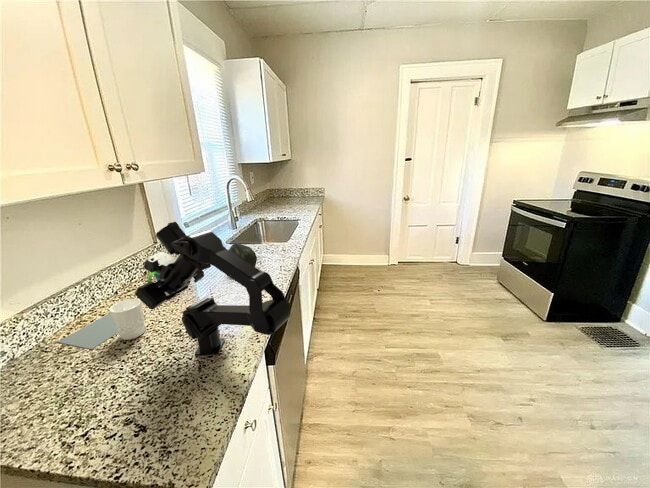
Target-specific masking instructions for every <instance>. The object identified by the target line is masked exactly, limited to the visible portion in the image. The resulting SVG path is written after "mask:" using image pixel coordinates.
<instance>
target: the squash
mask: <svg viewBox="0 0 650 488" xmlns="http://www.w3.org/2000/svg"><path fill="white" fill-rule="evenodd" d="M228 250H229V251H230V252H232V253H234V254H235V255H237V256H238V257H240V258H241V259H243V260H244V261H246V262H247V263H249V264H251V265H252V266H254V267H255V268H256V264H257V261H258V257H257V253H256V252H255V251H254V250H253V249H252V247H250V246H249V245H245V244H242V243H233V244H232V245H231V246H230V248H229V249H228Z"/></svg>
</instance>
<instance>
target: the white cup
mask: <svg viewBox="0 0 650 488" xmlns="http://www.w3.org/2000/svg"><path fill="white" fill-rule="evenodd" d="M142 306H143V305H142V301H141V300H140V299H139V298H129V299H124V300H121V301H118V302H116V303H115V304H113V305H112V306H110V307H109V313H111V316H112V319H113V321H114V324H115V326H116V329H117V331H118V332H119V333H118V335H119V337H120V339H121V340H125V341H126V340H133V339H136V338H139V337H141V336H142V335H143V334H144V333H145V332H146V330H147V329H146V328H147V327H146V324H145V316H143V315H144V310H143V307H142Z"/></svg>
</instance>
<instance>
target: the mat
mask: <svg viewBox="0 0 650 488" xmlns="http://www.w3.org/2000/svg"><path fill="white" fill-rule="evenodd" d="M143 316H144V317H146V315H145V314H143ZM117 334H119V332H118V331H117V329H116V326H115V324H114V321H113V319H112V316H111V313H110V312H109V313H108V314H105V315H104V316H102V317H100V318H98V319H96V320H95V321H93V322H91V323H89V324H87V325H86V326H84V327H81V328H80V329H79V330H76V331H74V332H72V333H71V334H69V335H67V336H66V337H64V338H61V339H60V340H57V344H63V345H68V346H73V347H77V348H82V349H88V350H94V349H96V348H97V347H99V346H100V345H102V344H103V343H105V342H106V341H108V340H110V339H111V338H112V337H115V336H116V335H117Z"/></svg>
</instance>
